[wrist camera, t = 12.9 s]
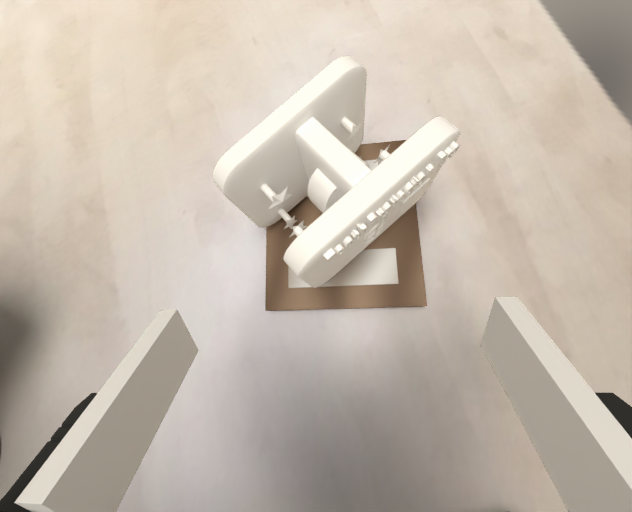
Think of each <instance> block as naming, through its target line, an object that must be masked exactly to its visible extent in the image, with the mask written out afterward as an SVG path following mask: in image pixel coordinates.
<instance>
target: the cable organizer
mask: <svg viewBox="0 0 632 512" xmlns="http://www.w3.org/2000/svg"><path fill="white" fill-rule="evenodd" d="M366 76H367V74H366V69H365V68H364V67H363V66H362V65H361V64H359V63H358V62H357V61H356V60H354V59H353V58H352V57H350V56H343V57H340V58H338V59H336V60H335V61H333V62H332V63H331V64H329V65H328V66H327V67H326V68H325V69H323V70H322V71H321V72H320V73H319V74H318V75H316V76H315V77H314V78H313V79H312V80H310V81H309V82H308V83H307V84H306V85H305V86H303V87H302V88H301V89H300V90H299V91H297V92H296V93H295V94H294V95H293V96H292V97H290V98H289V99H288V100H287V101H286V102H285V103H283V104H282V105H281V106H280V107H279V108H277V109H276V110H275V111H274V112H273V113H272V114H270V115H269V116H268V117H267V118H266V119H264V120H263V121H262V122H261V123H260V124H259V125H257V126H256V127H255V128H254V129H253V130H252V131H250V132H249V133H248V134H247V135H246V136H244V137H243V138H242V139H241V140H240V141H239V142H237V143H236V144H235V145H234V146H233V147H231V148H230V149H229V150H228V151H227V152H226V153H225V154H224V155H223V156H222V157H221V158H220V160H219V161H218V163H217V164H216V166H215V169H214V172H213V181H214V183H215V184H216V186H217V187H218V188H219V189H220V190H221V191H222V193H223V194H224V195H225V196H226V197H227V198H228V199H229V200H230V201H231V202H232V203H233V204H235V205H236V206H237V207H238V208H239V209H240V210H241V211H242V212H243V213H244V214H245V215H246V216H247V217H248V218H250V219H251V220H252V221H253V222H254V223H255V224H256V225H257V226H258V227H260V228H265V227H268V226H270V225H272V224H274V223H276V222H277V221H278V220H280V219H281V218H283V219H284V220H285V221H286V223H287V225H286V226H285V228H287V227H290V228H291V229H292V228H293V233H292V234H291V235H290V237H291V236H293V235H295V234H296V236H297V237H296V239H295V240H294V241H293V242H292V243H291V244H290V246H289V247H288V249H287V250H286V252H285V254H284V257H283V259H284V261H285V262H286V264H287V265H288V266H289V267H290V268H291V269H292V271H293V272H294V273H295V274H296V275H297V276H298V277H299V278H300V279H302V280H303V281H305V282H306V283H307V284H309V285H310V286H312V287H313V288H317V287H319V286H321V285H323V284H324V283H325V282H327V281H328V280H330V279H331V278H332V277H333V276H334V275H336V274H337V273H338V272H339V271H340V270H341V269H342V268H343V267H345V266H346V265H347V264H348V263H349V262H350V261H351V260H352V259H354V258H355V257H356V256H357V255H358V254H359V253H360V252H361V251H363V250H364V249H365V248H366V247H367V246H368V245H369V244H370V243H372V242H373V241H374V240H375V239H376V238H377V237H378V236H379V235H381V234H382V233H383V232H384V231H385V230H386V229H387V228H388V227H389V226H391V225H392V224H393V223H394V222H395V221H396V220H397V219H398V218H400V217H401V216H402V215H403V214H404V213H405V212H406V211H407V210H409V209H410V208H411V207H412V206H413V205H414V204H415V203H416V202H417V201H418V200H419V199H420V198H421V197H422V196H423V195H424V194H425V192H426V191H427V190H428V188H429V187H430V185H431V183H432V182H433V180H434V178H435V176H436V175H437V173H438V171H439V170H440V168H441V166H442V164H444V162H445V161H446V159H447V157H449V158H451V157H452V156H453V155H454V153H455V152H456V151H457V149H458V148H459V145H458V144H457V143H456V140H457V139H458V137H459V134H460V130H459V129H458V128H456V127H455V126H454V125H453V124H451V123H450V122H449V121H447V120H446V119H445V118H444V117H442V116H438V117H436V118H434V119H432V120H430V121H429V122H427V123H426V124H425V125H423V126H422V127H421V128H420V129H419V130H418V131H416V132H415V133H414V134H413V135H412V136H411V137H410V138H408V139H407V140H406V141H405V142H404V143H403V144H402V145H400V146H399V147H398V148H397V149H396V150H395V151H394V152H393V153H391V154H389V153H388V152H387V150H388V148H389V146H390V145H389V146H388V147H387V148H386V149H385V150H382V149H381V150H380V154H379V157H378V158H377V159H376V161H375V162H374V163H377V162H378V166H377V167H375V168H374V169H373V170H371V169H370V167H369V165H368V164H367V163H365V162H364V161H363V160H362V159H360V158H361V157H360V158H359V157H358V156H357V155H356V154H354V153H355V152H356V151H357V149H358V148H359V146H360V145H361V143H362V140H363V134H364V115H365V96H366ZM381 161H382V162H381ZM374 163H373V164H374ZM307 195H308V197H309V199H310V200H311V201H312V203H313V204H314V205H315V206H316V207H317V208H318V209H319V210H320V211H321V212H322V213H323V214H322V215H321V216H319V217H318V218H317V219H316V220H315V221H314V222H313V223H311V224H310V225H309V226H308V227H307V226H303V221H304V220H303V221H302V222H301V223H300V224H299V225H298V226H293V224H294V223H296V222H297V221H298V220H294V219H295V216H294V217H293V218H291V217H290V215H289V214H288V212H289V211H290V210H291V209H292V208H293V207H295V206H296V205H297V204H298V203H299V202H300V201H301V200H303V199H304V198H305V197H306V196H307ZM292 226H293V227H292ZM305 227H307V228H306V229H305V230H303V229H304V228H305ZM285 228H284V229H285Z"/></svg>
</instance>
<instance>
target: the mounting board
mask: <svg viewBox="0 0 632 512" xmlns="http://www.w3.org/2000/svg"><path fill="white" fill-rule="evenodd" d="M405 141H406V140H402V141H392V142H382V143H372V144H362V145H360V146H359V148H358V149H357V151H356V152H355V153H354V154H356V155H357V156H358V157H359V158H360V157H361V158H360V159H362V160H363V161H364V162H365V163H367V164H368V165H369V167H370V169H371V170H373V169H374V168H375V167H377V166H378V162H377V163H374V162H375V161H376V159H377V158H378V157H379V154H380V150H381V149H382V150H385V149H386V148H387V147H388V146H389V145H390V146H389V148H388V150H387V152H388V153H389V154H391V153H393V152H394V151H395V150H396V149H397V148H398V147H399V146H400V145H402V144H403V143H404V142H405ZM381 162H382V161H381ZM373 163H374V164H373ZM288 214H289V215H290V217H291V218H293V217H294V216H295V219H294V220H298V221H297V222H296V223H294V224H293V226H298V225H299V224H300V223H301V222H302V221H303V220H304V221H303V226H307V227H308V226H309V225H310V224H311V223H313V222H314V221H315V220H316V219H317V218H318V217H319V216H321V215H322V214H323V213H322V212H321V211H320V210H319V209H318V208H317V207H316V206H315V205H314V204H313V203H312V201H311V200H310V199H309V197H308V195H307V196H306V197H305V198H304V199H303V200H301V201H300V202H299V203H298V204H297V205H296V206H295V207H293V208H292V209H291V210H290V211H289V212H288ZM286 225H287V223H286V221H285V220H284V219H283V218H281V219H280V220H278V221H277V222H276V223H274V224H272V225H270V226H268V227H267V246H266V311H278V310H313V309H349V308H385V307H420V306H427V302H426V293H425V284H424V275H423V266H422V256H421V247H420V238H419V229H418V220H417V210H416V203H415V204H414V205H413V206H412V207H411V208H410V209H409V210H407V211H406V212H405V213H404V214H403V215H402V216H401V217H400V218H398V219H397V220H396V221H395V222H394V223H393V224H392V225H391V226H389V227H388V228H387V229H386V230H385V231H384V232H383V233H382V234H381V235H379V236H378V237H377V238H376V239H375V240H374V241H373V242H372V243H370V244H369V245H368V246H367V247H366V248H365V249H364V250H363V251H361V252H360V253H359V254H358V255H357V256H356V257H355V258H354V259H352V260H351V261H350V262H349V263H348V264H347V265H346V266H345V267H343V268H342V269H341V270H340V271H339V272H338V273H337V274H336V275H334V276H333V277H332V278H331V279H330V280H328V281H327V282H325V283H324V284H323V285H321V286H319V287H317V288H313V287H312V286H310V285H309V284H307V283H306V282H305V281H303V280H302V279H300V278H299V277H298V276H297V275H296V274H295V273H294V272H293V271H292V269H291V268H290V267H289V266H288V265H287V264H286V262H285V261H284V259H283V257H284V254H285V252H286V250H287V249H288V247H289V246H290V244H291V243H292V242H293V241H294V240H295V239H296V237H297V236H296V234H295V235H293V236H291V237H290V235H291V234H292V233H293V228H292V229H291V228H290V227H287V228H285V226H286ZM293 226H292V227H293ZM307 227H305V228H304V229H303V230H305V229H306V228H307ZM284 228H285V229H284Z"/></svg>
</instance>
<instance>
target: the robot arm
mask: <svg viewBox="0 0 632 512" xmlns="http://www.w3.org/2000/svg"><path fill="white" fill-rule="evenodd" d="M481 347H482V349H483V351H484V353H485V355H486V356H487V358H488V360H489V362H490V364H491V366H492V368H493V370H494V372H495V373H496V375H497V377H498V379H499V381H500V383H501V385H502V387H503V389H504V391H505V392H506V394H507V396H508V398H509V400H510V402H511V404H512V406H513V408H514V409H515V411H516V413H517V415H518V417H519V419H520V421H521V423H522V425H523V426H524V428H525V430H526V432H527V434H528V436H529V438H530V440H531V442H532V444H533V445H534V447H535V449H536V451H537V453H538V455H539V457H540V459H541V461H542V462H543V464H544V466H545V468H546V470H547V472H548V474H549V476H550V478H551V479H552V481H553V483H554V485H555V487H556V489H557V491H558V493H559V495H560V497H561V498H562V500H563V502H564V504H565V506H566V508H567V510H568V512H632V407H631V406H630V405H628V404H627V403H626V402H624V401H623V400H622V399H620V398H619V397H618V396H616V395H615V394H614V393H594V391H593V390H592V389H591V388H590V387H589V385H588V384H587V383H586V382H585V380H584V379H583V378H582V377H581V375H580V374H579V373H578V372H577V370H576V369H575V368H574V367H573V366H572V364H571V363H570V362H569V361H568V359H567V358H566V357H565V356H564V354H563V353H562V352H561V351H560V349H559V348H558V347H557V346H556V345H555V343H554V342H553V341H552V340H551V338H550V337H549V336H548V335H547V333H546V332H545V331H544V330H543V328H542V327H541V326H540V325H539V324H538V322H537V321H536V320H535V319H534V317H533V316H532V315H531V314H530V312H529V311H528V310H527V309H526V307H525V306H524V305H523V304H522V303H521V301H520V300H519V299H518V298H517V297H495V299H494V303H493V306H492V309H491V313H490V316H489V319H488V322H487V326H486V329H485V332H484V335H483V339H482V342H481ZM197 352H198V349H197V347H196V345H195V343H194V341H193V339H192V337H191V335H190V333H189V331H188V329H187V327H186V326H185V324H184V322H183V320H182V318H181V316H180V314H179V312H178V310H177V309H174V310H161V311H160V312H159V313H158V315H157V316H156V317H155V319H154V320H153V321H152V323H151V324H150V325H149V326H148V328H147V329H146V330H145V332H144V333H143V334H142V336H141V337H140V338H139V340H138V341H137V342H136V344H135V345H134V346H133V347H132V349H131V350H130V351H129V353H128V354H127V355H126V357H125V358H124V359H123V361H122V362H121V363H120V365H119V366H118V367H117V368H116V370H115V371H114V372H113V374H112V375H111V376H110V378H109V379H108V380H107V382H106V383H105V384H104V386H103V387H102V388H101V389H100V391H99V392H98V393H91V394H90V395H89V396H88V397H87V398H86V399H84V400H83V401H82V402H81V403H80V404H79V405H77V406H76V407H75V408H74V410H73V411H72V412H71V413H70V415H69V416H68V417H67V418H66V420H65V421H64V422H63V423H62V427H59V428H58V430H57V431H56V432H55V433H54V435H53V436H52V437H51V441H49V442H47V444H46V445H45V446H44V447H43V449H42V450H41V451H40V452H39V454H38V455H37V456H36V457H35V459H34V460H33V461H32V462H31V464H30V465H29V466H28V467H27V469H26V470H25V471H24V472H23V474H22V475H21V476H20V477H19V479H18V480H17V481H16V482H15V484H14V485H13V486H12V487H11V489H10V490H9V491H8V492H7V494H6V495H5V496H4V497H3V498H2V499H1V501H0V512H116V510H117V508H118V506H119V504H120V502H121V500H122V498H123V496H124V494H125V492H126V491H127V489H128V487H129V485H130V483H131V481H132V479H133V477H134V475H135V473H136V471H137V469H138V467H139V465H140V463H141V461H142V459H143V457H144V455H145V453H146V452H147V450H148V448H149V446H150V444H151V442H152V440H153V438H154V436H155V434H156V432H157V430H158V428H159V426H160V424H161V422H162V420H163V418H164V416H165V415H166V413H167V411H168V409H169V407H170V405H171V403H172V401H173V399H174V397H175V395H176V393H177V391H178V389H179V387H180V385H181V383H182V381H183V379H184V378H185V376H186V374H187V372H188V370H189V368H190V366H191V364H192V362H193V360H194V358H195V356H196V354H197Z"/></svg>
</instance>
